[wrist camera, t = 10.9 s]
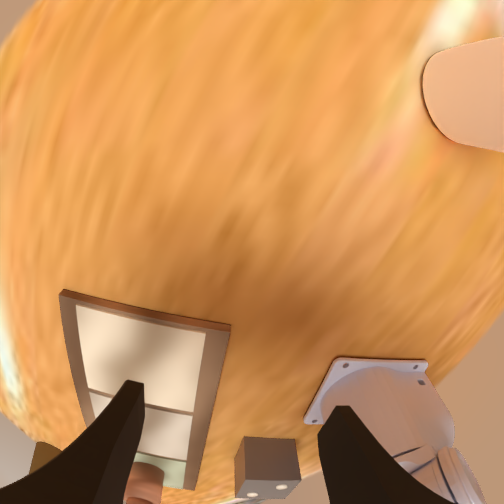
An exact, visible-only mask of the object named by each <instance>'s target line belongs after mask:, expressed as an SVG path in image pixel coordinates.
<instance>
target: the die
mask: <svg viewBox="0 0 504 504" xmlns="http://www.w3.org/2000/svg"><path fill="white" fill-rule="evenodd" d="M300 481H301V474H300V468H299V462H298V456H297V450H296V444H295V439H276V438H259V437H246V436H244V437H243V440H242V442H241V445H240V447H239V450H238V452H237V455H236V457H235V498H249V499H285V498H286V497H287V496H288V495H289V494H290V493H291V491H292V490H293V489H294V488H295V487H296V486H297V485H298V484H299V483H300Z"/></svg>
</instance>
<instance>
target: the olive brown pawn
mask: <svg viewBox="0 0 504 504" xmlns="http://www.w3.org/2000/svg"><path fill="white" fill-rule="evenodd" d="M61 452H62V451H61V450H59V449H58V448H56V447H54V446H52V445H50V444H47V443H44V442H37V443H36V447H35V451H34V455H33V459H32V463H31V467H30V472H29V474H30V473H32V472H34V471H35V470H37V469H39V468H40V467H42V466H43V465H45V464H46V463H48V462H49V461H50V460H52V459H53V458H54V457H56V456H57V455H58V454H60V453H61Z"/></svg>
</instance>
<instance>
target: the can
mask: <svg viewBox="0 0 504 504" xmlns="http://www.w3.org/2000/svg"><path fill="white" fill-rule="evenodd" d="M423 94H424V99H425V103H426V106H427V109H428V112H429V114H430V116H431V118H432V120H433V121H434V123H435V125H436V126H437V127H438V129H439V130H440V131H441V132H442V133H443V134H444V135H445V136H446V137H447V138H449V139H450V140H452V141H454V142H456V143H460V144H464V145H469V146H474V147H479V148H485V149H490V150H494V151H499V152H504V36H501V37H496V38H491V39H486V40H481V41H477V42H472V43H468V44H464V45H460V46H457V47H453V48H449V49H446V50H443V51H440V52H438V53H436V54H434V55H433V56H432V57H431V58H430V59H429V61H428V63H427V64H426V67H425V70H424V74H423Z"/></svg>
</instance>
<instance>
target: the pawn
mask: <svg viewBox="0 0 504 504" xmlns="http://www.w3.org/2000/svg"><path fill="white" fill-rule="evenodd" d="M164 475H165V473H164V471H163V470H162V469H160V468H158V467H157V466H154V465H152V464H148V463H144V462H133V465H132V468H131V471H130V475H129V478H128V481H127V485H126V489H125V493H124V500H125V501H126V504H160V503H161V496H162V488H163V481H164Z"/></svg>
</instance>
